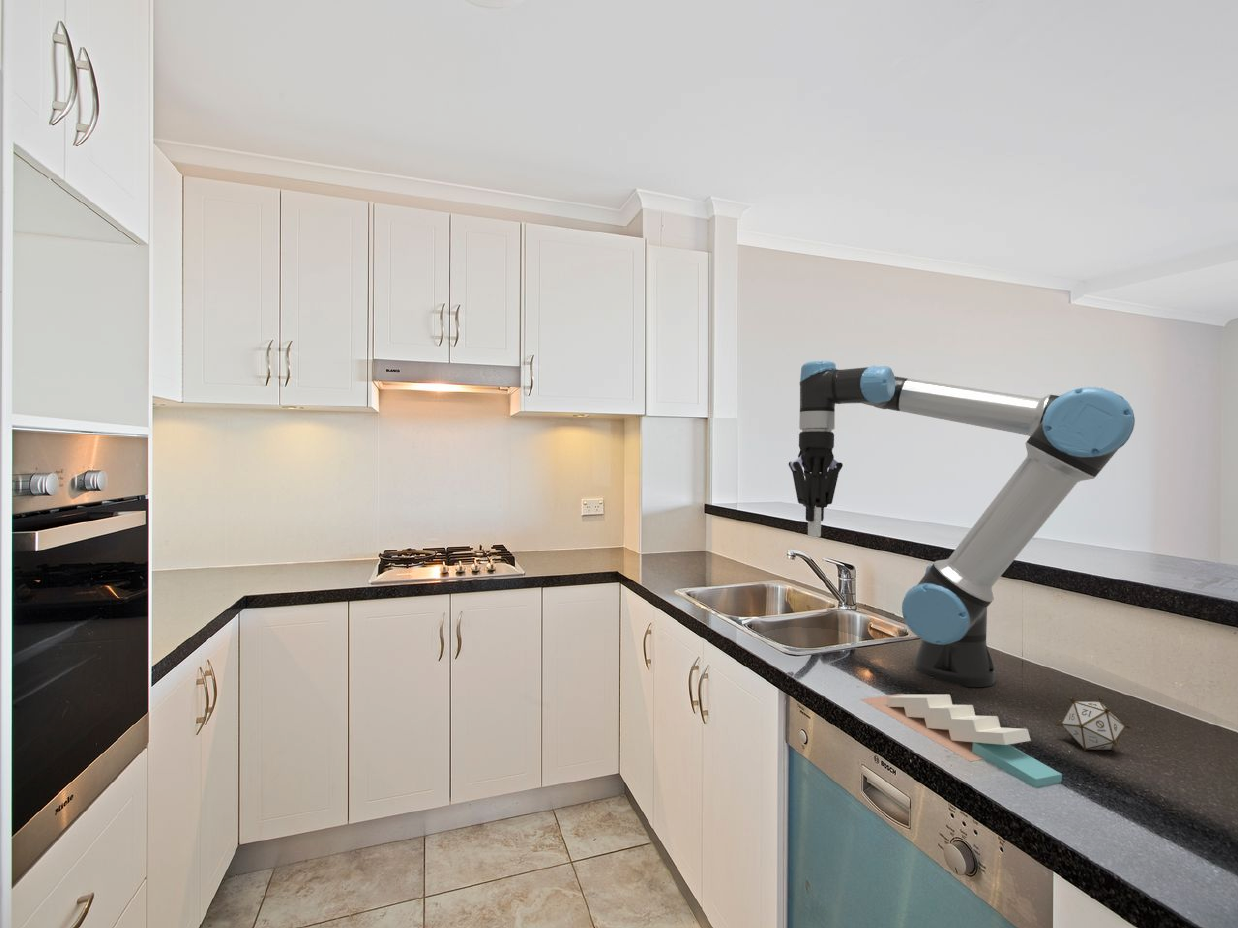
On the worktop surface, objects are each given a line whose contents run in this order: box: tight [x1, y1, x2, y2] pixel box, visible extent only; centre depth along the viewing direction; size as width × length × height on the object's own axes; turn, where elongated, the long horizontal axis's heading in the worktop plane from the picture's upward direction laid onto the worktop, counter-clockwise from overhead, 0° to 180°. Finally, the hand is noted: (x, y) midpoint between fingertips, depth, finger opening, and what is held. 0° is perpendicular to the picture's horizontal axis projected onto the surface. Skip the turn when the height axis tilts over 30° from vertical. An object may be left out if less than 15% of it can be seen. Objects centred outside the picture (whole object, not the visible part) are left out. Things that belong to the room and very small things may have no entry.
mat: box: [860, 693, 984, 763], centre depth 102 cm, size 24×10×1 cm, turn 18°
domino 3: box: [925, 715, 1001, 731], centre depth 97 cm, size 2×5×10 cm
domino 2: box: [904, 704, 976, 719], centre depth 101 cm, size 2×5×10 cm
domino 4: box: [949, 726, 1032, 745], centre depth 92 cm, size 2×5×10 cm
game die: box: [1054, 696, 1133, 753], centre depth 95 cm, size 9×8×10 cm
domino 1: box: [886, 694, 953, 708], centre depth 105 cm, size 2×5×10 cm
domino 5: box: [972, 742, 1063, 788], centre depth 88 cm, size 2×5×10 cm
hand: (814, 535), depth 134 cm, fingers closed
